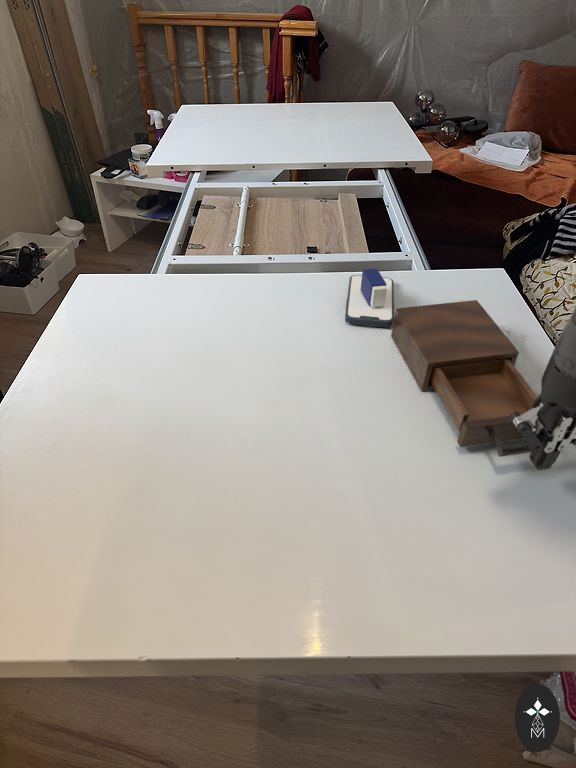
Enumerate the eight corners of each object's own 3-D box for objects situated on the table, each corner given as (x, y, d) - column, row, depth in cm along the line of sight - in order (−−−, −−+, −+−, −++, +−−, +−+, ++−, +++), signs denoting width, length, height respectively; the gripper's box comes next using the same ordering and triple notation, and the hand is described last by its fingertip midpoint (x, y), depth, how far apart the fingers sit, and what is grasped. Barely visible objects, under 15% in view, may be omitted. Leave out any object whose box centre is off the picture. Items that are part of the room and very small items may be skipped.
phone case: (349, 280, 108) (343, 325, 96) (349, 273, 107) (344, 317, 95) (393, 284, 107) (393, 329, 95) (394, 277, 106) (394, 322, 94)
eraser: (374, 288, 102) (376, 268, 100) (385, 307, 98) (388, 286, 95) (360, 289, 102) (362, 269, 99) (370, 308, 97) (373, 288, 94)
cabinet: (508, 380, 85) (519, 352, 81) (421, 391, 83) (428, 363, 79) (469, 327, 96) (476, 299, 92) (390, 335, 94) (395, 308, 90)
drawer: (567, 457, 72) (577, 437, 70) (473, 471, 70) (481, 452, 68) (504, 373, 85) (511, 354, 83) (424, 383, 83) (428, 364, 81)
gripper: (625, 331, 60) (569, 435, 71) (516, 344, 58) (477, 449, 69) (673, 374, 54) (604, 480, 66) (554, 390, 52) (505, 496, 64)
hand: (539, 464), depth 67 cm, fingers closed
